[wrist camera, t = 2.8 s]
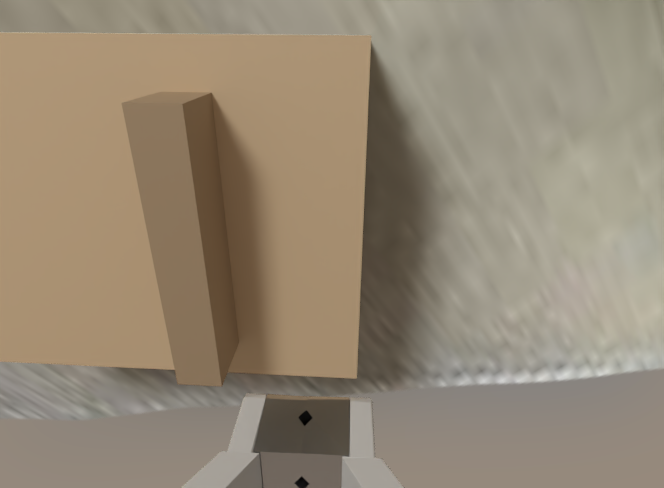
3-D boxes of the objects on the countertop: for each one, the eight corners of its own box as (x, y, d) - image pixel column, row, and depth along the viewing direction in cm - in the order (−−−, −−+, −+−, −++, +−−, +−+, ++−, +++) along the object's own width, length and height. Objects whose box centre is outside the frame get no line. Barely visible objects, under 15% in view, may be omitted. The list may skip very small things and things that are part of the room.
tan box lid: (370, 35, 16) (373, 35, 13) (356, 367, 23) (356, 425, 20) (-185, 31, 17) (-321, 30, 14) (-36, 349, 24) (-102, 401, 21)
